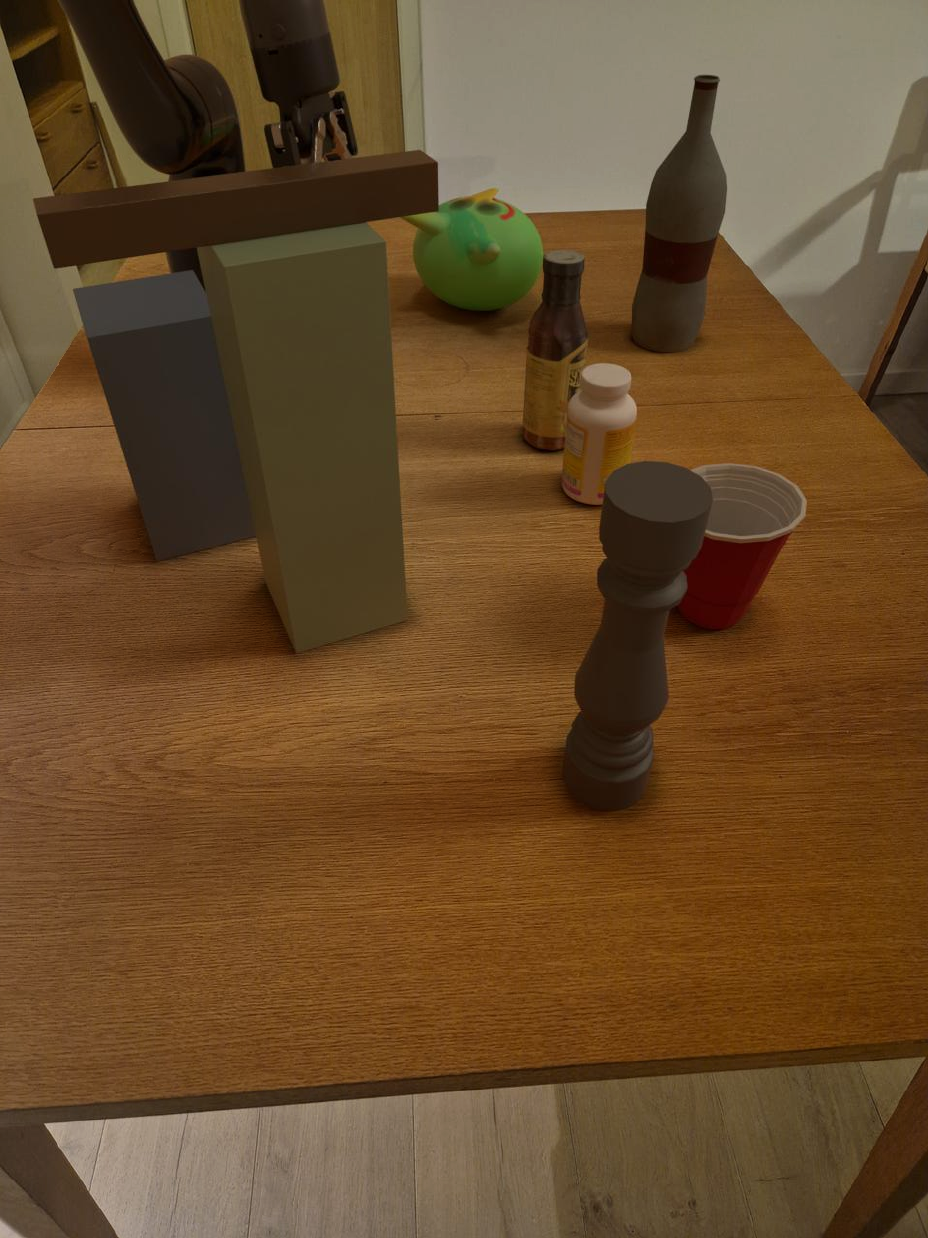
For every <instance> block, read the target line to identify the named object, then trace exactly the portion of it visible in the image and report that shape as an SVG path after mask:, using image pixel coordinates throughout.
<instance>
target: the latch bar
mask: <svg viewBox="0 0 928 1238" xmlns="http://www.w3.org/2000/svg"><path fill="white" fill-rule="evenodd" d="M439 197H440V196H439V162H438V161H437V160H436V159H434V158H433V157H431V156H430V155H429V154H428V153H426V152H425V151H423V150H421V149H416V150H407V151H400V152H389V153H383V154H376V155H368V156H360V157H359V156H358V157H352V158H350V159H342V160H334V161H326V162H325V161H322V162H319V163H311V164H303V165H295V166H287V167H279V168H273V167H271V168H265V169H255V170H248V171H247V170H246V172H239V173H231V174H223V175H215V176H207V177H199V178H191V179H183V180H175V181H168V180H166V181H161V182H154V183H144V184H137V185H129V186H121V187H111V188H105V189H97V190H96V189H95V190H89V191H81V192H73V193H65V194H57V195H56V194H55V195H50V196H41V197H33V198H32V202H33V206H34V209H35V213H36V216H37V220H38V223H39V227H40V229H41V233H42V236H43V239H44V242H45V245H46V249H47V252H48V255H49V258H50V262H51V265H52V267H53V269H54V270H56V269H57V270H58V269H64V268H69V267H77V266H83V265H89V264H97V263H102V262H110V261H117V260H123V259H130V258H137V257H143V256H148V255H149V256H150V255H156V254H162V253H165V252H170V251H177V250H184V249H190V248H197V247H204V246H210V245H217V244H224V243H230V242H237V241H244V240H250V239H257V238H264V237H271V236H277V235H284V234H291V233H297V232H304V231H311V230H317V229H324V228H331V227H337V226H344V225H351V224H357V223H364V222H366V223H371V222H377V221H384V220H391V219H398V218H401V217H404V216H411V215H417V214H424V213H431V212H437V211H439V205H440V204H439V200H440V198H439Z"/></svg>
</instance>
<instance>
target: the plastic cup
mask: <svg viewBox="0 0 928 1238" xmlns="http://www.w3.org/2000/svg"><path fill="white" fill-rule="evenodd" d="M690 470H691V471H692V472H694V473H696V474H698V475H699V476H701V477H702V478H703V479H704V480H705V481H706V483H707V484H708V485H709V486H710V487H711V491H712V497H713V502H712V506H711V510H710V514H709V519H708V523H707V527H706V531H705V535H704V539H703V543H702V547H701V549H700V551H699V552H698V554H697V556H696V558H695V559H693V560H692V561H691V563H690V565H689V566H688V568H687V569H685V570H683V572H684V573H685V575H686V578H687V591H686V593H685V594H684V596H683V598H682V600H681V602H680V603H679V604H678V605H677V609H678V612H679V614H680V615H681V616H682V617H683V618H684V619H685V620H686V621H688V622H689V623H691V624H693V625H695V626H697V627H700V628H703V629H708V630H726V629H728V628H731V627H734V626H735V625H736V624H737V623H738V622H739V621H740V620H741V619H742V618H743V617H744V616H745V614H747V613H746V612H747V611H748V609H749V607H750V605H751V604H752V602H753V600H754V598H755V596H756V595H757V594H758V593H759V591H760V590H761V587H762V586H763V584H764V582H765V581H766V578H767V577H768V575H769V574H770V571H771V569H772V567H773V566H774V563H775V562H776V560H777V558H778V556H779V554H780V553H781V551H782V549H783V548H784V546H785V545H786V543H787V541H788V539H789V537H790V536H791V535H792V534H793V531H794V530H795V528H796V527H797V526H799V525H800V523H801V522H802V521H804V519H805V517H806V515H807V505H808V499H807V498H806V496H805V495H804V494H803V492H802V490H801V489H800V488H799V486H798V485H797V484H795V483H794V482H793V481H791V480H789V479H788V478H787V477H785V476H783V475H782V474H781V473H778V472H775V471H771V470H769V469H766V468H762V467H760V466H757V465H748V464H740V463H732V462H727V463H714V464H704V465H701V466H698V467H695V468H692V469H690Z"/></svg>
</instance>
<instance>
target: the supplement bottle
mask: <svg viewBox="0 0 928 1238" xmlns="http://www.w3.org/2000/svg"><path fill="white" fill-rule="evenodd" d="M631 384H632V375H631V372H630V371H629V370H628V369H627V368H625V367H623V366H622V365H618V364H614V363H607V362H601V363H599V362H598V363H594V364H590V365H588V366H587V365H586V366H585V368H584V369H583V371H582V373H581V380H580V387H581V390H580V391H579V392H577V393H576V394H575V395H574V396H573V397H572V398H571V400H570V402H569V404H568V411H567V422H566V433H565V444H564V448H563V457H562V467H561V468H562V470H561V487H562V489H563V491H564V493H565V495H567V496H568V497H569V498H571V499H572V500H574V501H576V502H579V503H582V504H587V505H593V506H594V505H595V506H597V505H598V506H602V504H603V497H604V489H605V482H606V480H607V479H608V477H609V476H610V475H611V473H612V472H613V471H614V470H616V469H618V468H620V467H622V466H624V465H626V464H630V463H631V457H632V450H633V444H634V443H633V442H634V436H635V429H636V421H637V413H638V407H637V404H636V401H635V400H634V398H633V397H632V396H631V395H629V394H628V393H629V391H630V390H631Z"/></svg>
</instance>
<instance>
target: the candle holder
mask: <svg viewBox="0 0 928 1238" xmlns="http://www.w3.org/2000/svg"><path fill="white" fill-rule="evenodd" d="M691 470H692V469H689V468H687V467H685V466H681V465H678V464H674V463H671V462H667V461H657V460H656V461H654V460H643V461H636V462H630V464H626V465H624V466H622V467H620V468H618V469H616V470H614V471H613V472H612V473H611V475H610V476H609V477H608V479H607V480H606V482H605V489H604V497H603V504H602V505H601V510H600V511H601V513H600V517H599V518H600V519H599V527H598V538H599V541H600V544H601V545H602V552H603V554H604V556H605V558H604V559H603V560H602V561H601V563H600V564H599V566H598V568H597V569H596V586H597V588H598V590H599V592H600V594H601V595H602V597H603V599H604V602H603V608H602V614H601V621H600V625H599V626H598V629H597V631H596V633H595V635H594V637H593V639H592V641H591V642H590V645H589V646H588V649H587V651H586V653H585V655H584V657H583V659H582V661H581V662H580V665H579V667H578V669H577V671H576V673H575V674H574V675H575V676H574V686H573V687H574V688H573V689H574V690H573V691H574V692H573V696H574V699H575V702H576V704H577V706H578V708H579V710H580V711H579V712H578V713H577V714H576V716H575V717H574V720H573V721H572V723H571V728H570V730H569V732H568V733H567V735H566V738H565V747H564V752H563V753H564V754H563V755H564V756H563V761H562V776H561V777H562V780H563V782H564V785H565V788H566V789H567V791H568V792H569V794H570V795H571V796H573V797H574V798H575V799H576V800H577V801H578V802H579V803H580V804H582V805H585V806H587V807H589V808H592V809H594V810H598V811H607V812H616V811H620V810H624V809H628V808H631V806H633V805H634V804H635V803H637V802H638V801H640V800H641V799H642V797H643V795H644V793H645V791H646V789H647V788H648V783H649V779H650V776H651V772H652V768H653V763H654V759H655V753H654V744H655V743H654V730H653V728H652V726H651V725H652V724H654V723H655V722H656V721H658V720H659V719H660V718H661V716H662V714H663V713H664V710H665V708H666V707H667V704H668V700H669V697H670V696H669V684H668V683H669V682H668V673H667V663H666V662H667V661H666V650H665V649H666V648H665V638H664V637H665V634H666V633H665V632H666V628H667V624H668V620H669V615H670V611H671V610H672V609H673V608H675V607H676V606H677V605H678V604H679V603H680V602H681V600H682V598H683V596H684V594H685V593H686V591H687V578H686V575H685V573H684V572H683V570H685V569H687V568H688V566H689V565H690V563H691V561H692V560H693V559H695V558H696V556H697V554H698V552H699V551H700V549H701V547H702V543H703V539H704V535H705V531H706V527H707V523H708V519H709V514H710V510H711V506H712V502H713V497H712V491H711V487H710V486H709V485H708V484H707V483H706V481H705V480H704V479H703V478H702V477H701V476H699V475H698V474H696V473H694V472H692V471H691ZM677 607H678V606H677Z"/></svg>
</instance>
